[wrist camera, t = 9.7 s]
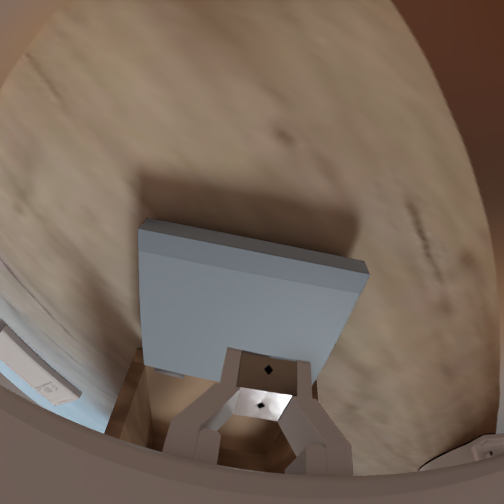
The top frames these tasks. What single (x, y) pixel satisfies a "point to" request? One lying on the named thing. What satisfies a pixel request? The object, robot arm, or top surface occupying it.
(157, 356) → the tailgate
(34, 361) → the external hard drive
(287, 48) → the top surface
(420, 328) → the top surface
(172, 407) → the crate
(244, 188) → the top surface
